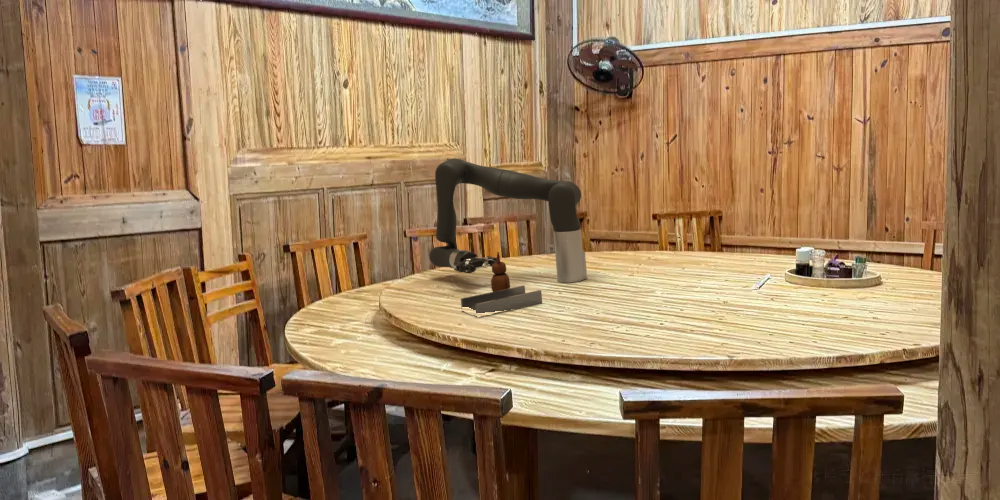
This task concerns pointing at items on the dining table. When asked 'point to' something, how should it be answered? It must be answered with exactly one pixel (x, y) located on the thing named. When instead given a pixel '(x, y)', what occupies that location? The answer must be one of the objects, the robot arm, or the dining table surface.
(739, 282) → the dining table surface
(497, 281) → the wooden figurine
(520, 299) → the sliding track
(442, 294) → the dining table surface
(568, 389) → the dining table surface
